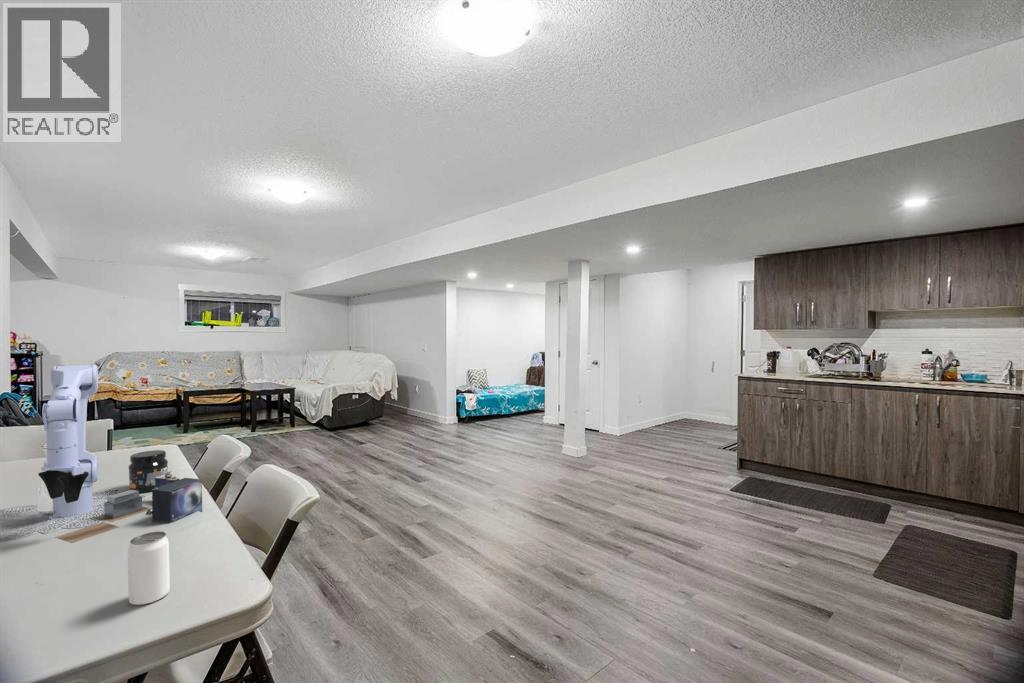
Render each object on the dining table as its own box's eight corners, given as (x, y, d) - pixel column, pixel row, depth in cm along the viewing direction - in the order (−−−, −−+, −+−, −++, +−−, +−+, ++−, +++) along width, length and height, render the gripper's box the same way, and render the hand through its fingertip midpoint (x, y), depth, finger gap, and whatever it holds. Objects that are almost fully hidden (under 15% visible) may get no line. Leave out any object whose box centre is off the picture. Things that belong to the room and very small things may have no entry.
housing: (104, 516, 129) (103, 496, 129) (133, 507, 136) (132, 488, 136) (113, 519, 128) (113, 499, 127) (142, 510, 134) (141, 490, 134)
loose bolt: (146, 520, 130) (145, 511, 130) (153, 516, 133) (153, 507, 133) (166, 520, 130) (165, 511, 130) (173, 516, 133) (173, 507, 133)
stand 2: (95, 522, 129) (95, 517, 129) (136, 509, 138) (136, 504, 138) (111, 527, 126) (111, 521, 126) (152, 513, 135) (152, 508, 135)
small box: (170, 529, 124) (169, 490, 124) (150, 527, 125) (149, 489, 125) (204, 514, 135) (203, 478, 134) (185, 512, 136) (184, 477, 136)
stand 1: (55, 543, 116) (55, 537, 116) (103, 527, 126) (103, 522, 126) (72, 548, 113) (71, 542, 113) (120, 532, 122) (120, 526, 122)
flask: (153, 506, 141) (152, 471, 141) (163, 503, 144) (162, 468, 143) (174, 510, 138) (173, 474, 138) (184, 506, 141) (183, 471, 140)
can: (144, 588, 95) (142, 531, 95) (177, 587, 96) (175, 529, 95) (120, 607, 89) (118, 545, 88) (155, 605, 89) (154, 544, 89)
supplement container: (128, 488, 158) (127, 453, 157) (166, 481, 165) (165, 448, 164) (130, 496, 150) (129, 459, 149) (170, 488, 157) (169, 453, 157)
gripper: (27, 447, 117) (28, 500, 117) (57, 453, 111) (58, 509, 111) (63, 441, 123) (64, 491, 124) (93, 446, 118) (94, 499, 118)
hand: (64, 499), depth 118 cm, fingers open, 7 cm apart
